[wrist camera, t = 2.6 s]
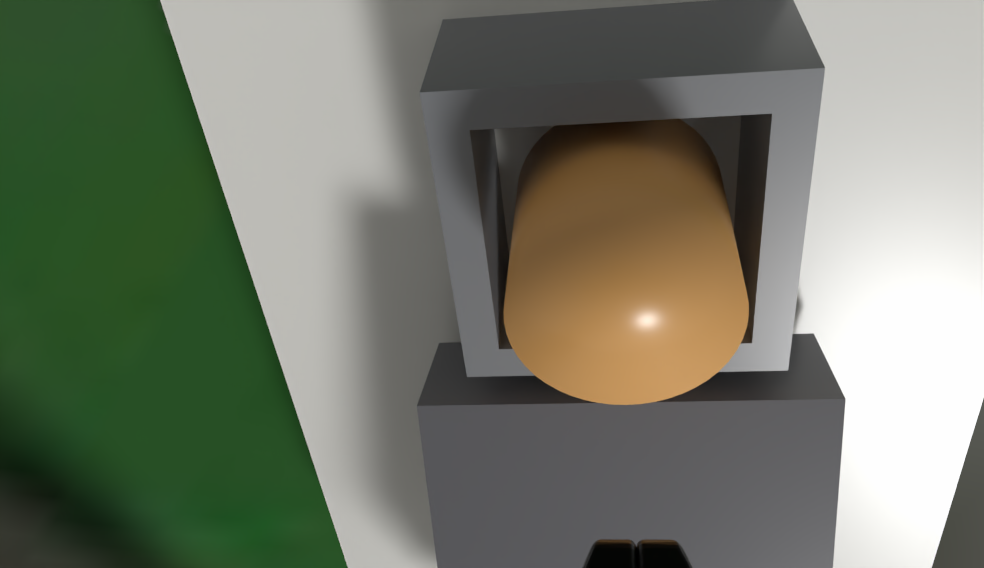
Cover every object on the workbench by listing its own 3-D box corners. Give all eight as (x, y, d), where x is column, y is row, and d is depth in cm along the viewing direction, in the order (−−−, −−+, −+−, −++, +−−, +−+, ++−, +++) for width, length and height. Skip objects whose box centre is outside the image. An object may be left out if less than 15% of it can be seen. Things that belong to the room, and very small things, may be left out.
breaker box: (863, 547, 27) (926, 772, 22) (402, 545, 29) (362, 753, 24) (1031, -197, 15) (1252, -76, 10) (225, -121, 17) (71, 14, 12)
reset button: (718, 273, 15) (741, 402, 13) (525, 279, 16) (514, 406, 13) (727, 98, 13) (757, 212, 11) (508, 111, 14) (491, 224, 11)
